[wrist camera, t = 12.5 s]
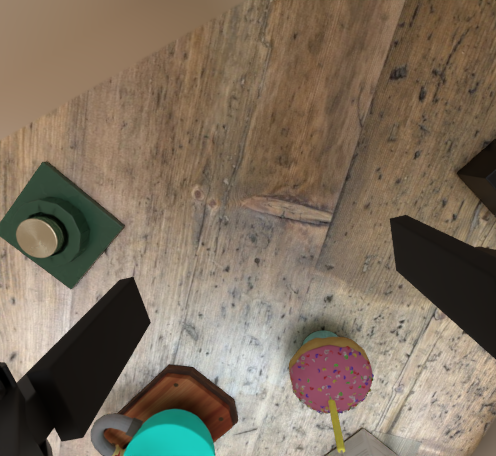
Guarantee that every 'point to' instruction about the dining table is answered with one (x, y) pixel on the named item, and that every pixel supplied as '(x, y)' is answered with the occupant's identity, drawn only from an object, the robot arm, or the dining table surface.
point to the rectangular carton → (363, 446)
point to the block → (73, 218)
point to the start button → (41, 235)
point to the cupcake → (331, 376)
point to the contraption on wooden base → (168, 418)
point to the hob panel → (482, 176)
